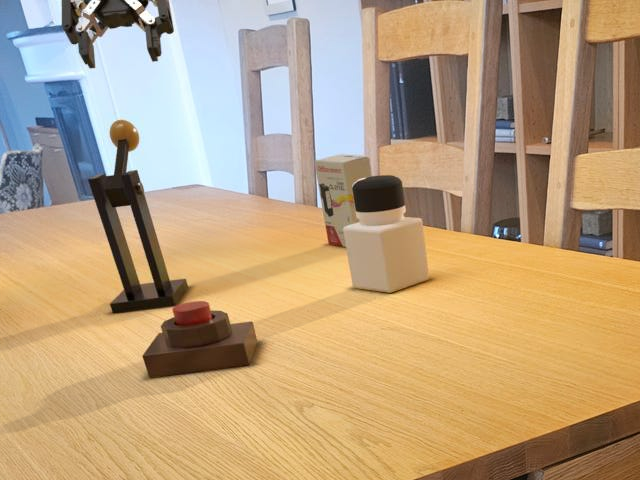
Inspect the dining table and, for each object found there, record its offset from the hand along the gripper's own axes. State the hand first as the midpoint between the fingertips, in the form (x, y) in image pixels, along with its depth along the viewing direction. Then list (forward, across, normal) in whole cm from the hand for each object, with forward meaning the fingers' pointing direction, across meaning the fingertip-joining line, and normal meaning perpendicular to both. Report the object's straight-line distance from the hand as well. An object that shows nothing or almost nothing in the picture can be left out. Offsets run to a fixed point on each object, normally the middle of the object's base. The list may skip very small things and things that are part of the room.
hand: (121, 59), depth 112 cm
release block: (+56, +12, -18) cm, 60 cm away
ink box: (+18, +27, +19) cm, 38 cm away
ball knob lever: (+19, 0, -2) cm, 19 cm away
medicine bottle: (+39, +32, -2) cm, 51 cm away
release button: (+53, +12, -21) cm, 58 cm away
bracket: (+34, 0, +4) cm, 34 cm away
